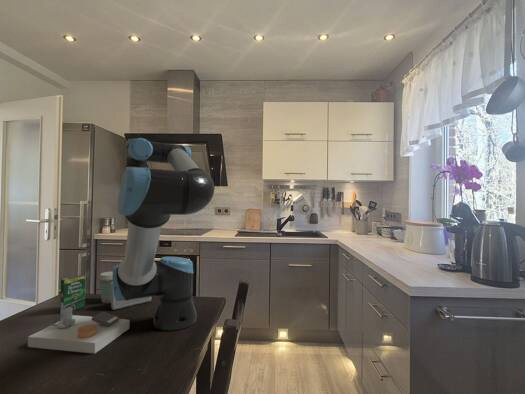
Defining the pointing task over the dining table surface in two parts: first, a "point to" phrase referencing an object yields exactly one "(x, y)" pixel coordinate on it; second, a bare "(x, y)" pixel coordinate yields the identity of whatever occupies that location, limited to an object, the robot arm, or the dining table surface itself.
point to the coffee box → (73, 292)
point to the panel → (69, 336)
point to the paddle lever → (66, 318)
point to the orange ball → (87, 331)
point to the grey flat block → (105, 318)
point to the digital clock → (125, 304)
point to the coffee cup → (105, 286)
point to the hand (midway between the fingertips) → (134, 238)
